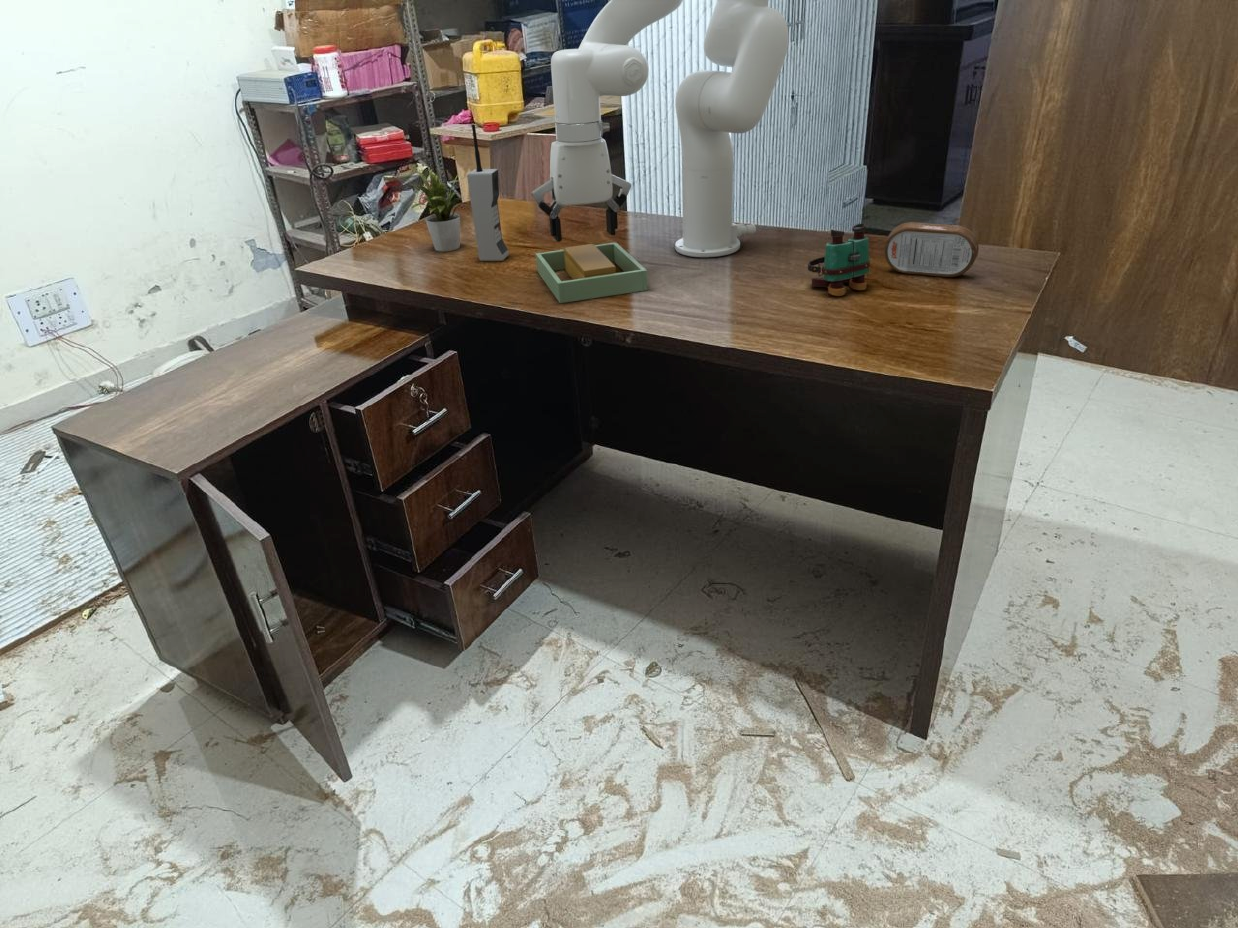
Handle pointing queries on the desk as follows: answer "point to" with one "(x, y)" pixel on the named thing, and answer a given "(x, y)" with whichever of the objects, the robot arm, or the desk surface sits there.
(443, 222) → the house plant
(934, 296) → the desk surface
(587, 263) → the tan wooden plank
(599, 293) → the green rectangular open frame
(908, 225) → the tin
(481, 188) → the vintage mobile phone
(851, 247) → the binoculars
